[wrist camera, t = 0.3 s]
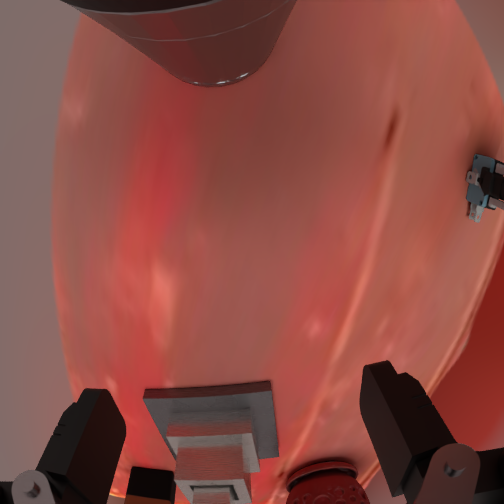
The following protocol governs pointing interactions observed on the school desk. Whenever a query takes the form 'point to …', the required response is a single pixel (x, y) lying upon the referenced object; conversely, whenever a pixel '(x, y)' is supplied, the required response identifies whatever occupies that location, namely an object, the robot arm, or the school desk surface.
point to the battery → (150, 487)
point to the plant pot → (326, 485)
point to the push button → (485, 185)
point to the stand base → (216, 433)
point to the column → (214, 494)
